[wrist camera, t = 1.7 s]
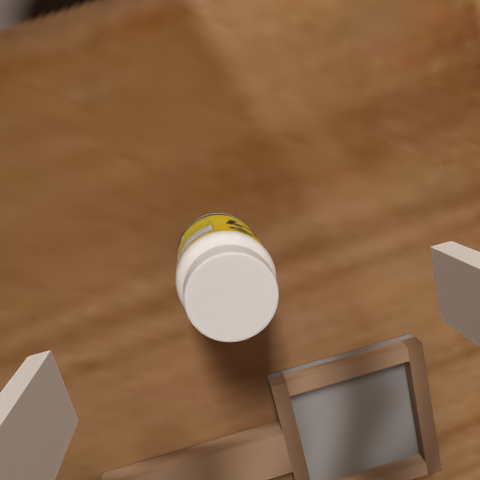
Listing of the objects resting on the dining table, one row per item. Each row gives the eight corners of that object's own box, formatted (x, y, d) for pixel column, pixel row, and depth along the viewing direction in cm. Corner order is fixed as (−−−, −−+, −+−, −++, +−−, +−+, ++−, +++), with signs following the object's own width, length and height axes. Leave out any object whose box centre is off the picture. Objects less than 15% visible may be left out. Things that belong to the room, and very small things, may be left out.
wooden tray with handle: (82, 564, 30) (70, 614, 26) (30, 444, 27) (10, 483, 24) (430, 456, 31) (457, 490, 28) (410, 333, 29) (438, 356, 26)
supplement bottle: (272, 254, 26) (311, 304, 18) (213, 303, 27) (225, 374, 18) (222, 194, 25) (239, 219, 17) (160, 246, 25) (149, 295, 17)
